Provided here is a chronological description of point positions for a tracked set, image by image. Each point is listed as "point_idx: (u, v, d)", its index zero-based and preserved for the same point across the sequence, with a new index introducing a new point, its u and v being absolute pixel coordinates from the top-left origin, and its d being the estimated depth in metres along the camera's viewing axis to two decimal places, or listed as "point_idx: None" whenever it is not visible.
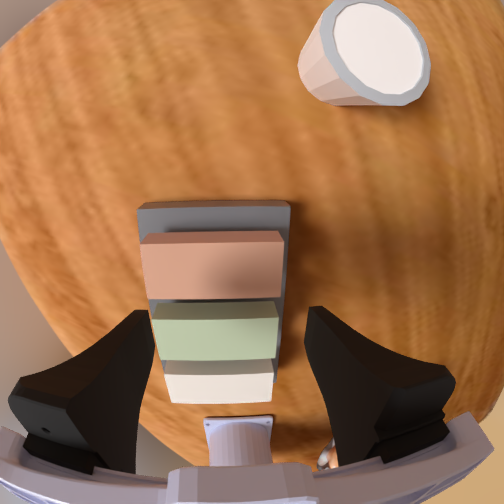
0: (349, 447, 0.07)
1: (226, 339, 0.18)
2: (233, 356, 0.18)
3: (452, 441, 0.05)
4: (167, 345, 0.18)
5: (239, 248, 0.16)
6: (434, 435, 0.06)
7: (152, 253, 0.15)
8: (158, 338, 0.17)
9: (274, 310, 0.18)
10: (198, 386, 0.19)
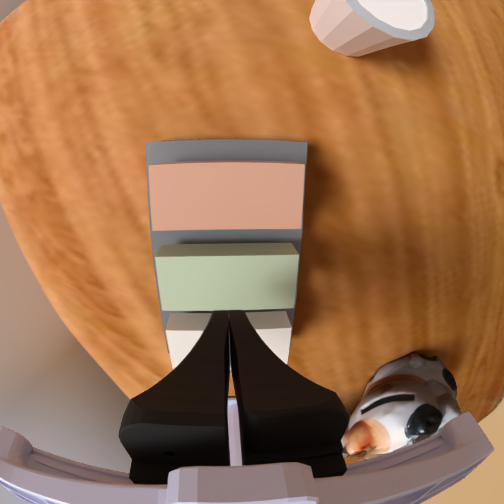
0: None
1: (239, 281, 0.16)
2: (246, 305, 0.17)
3: (452, 441, 0.05)
4: (171, 290, 0.16)
5: (257, 169, 0.14)
6: (323, 470, 0.05)
7: (161, 175, 0.14)
8: (161, 282, 0.16)
9: (293, 249, 0.17)
10: None
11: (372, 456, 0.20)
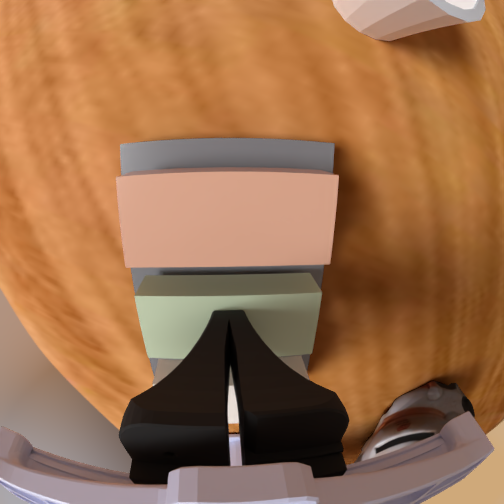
0: None
1: None
2: None
3: (452, 441, 0.05)
4: (158, 336, 0.12)
5: (272, 182, 0.10)
6: (323, 470, 0.05)
7: (134, 190, 0.09)
8: (145, 326, 0.12)
9: (313, 283, 0.13)
10: None
11: None
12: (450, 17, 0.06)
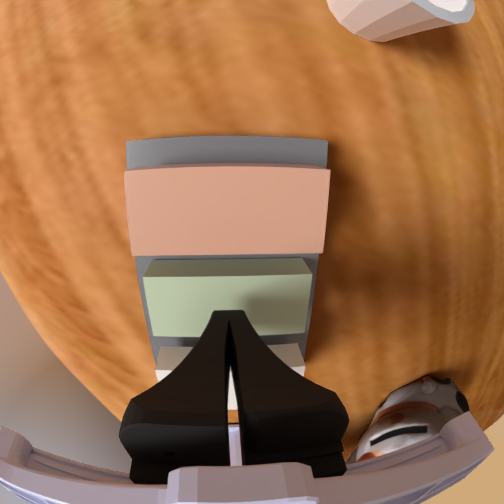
0: None
1: (242, 305, 0.14)
2: None
3: (452, 441, 0.05)
4: (163, 315, 0.14)
5: (268, 175, 0.11)
6: (323, 470, 0.05)
7: (141, 184, 0.10)
8: (151, 305, 0.13)
9: (305, 266, 0.14)
10: None
11: None
12: (438, 19, 0.07)
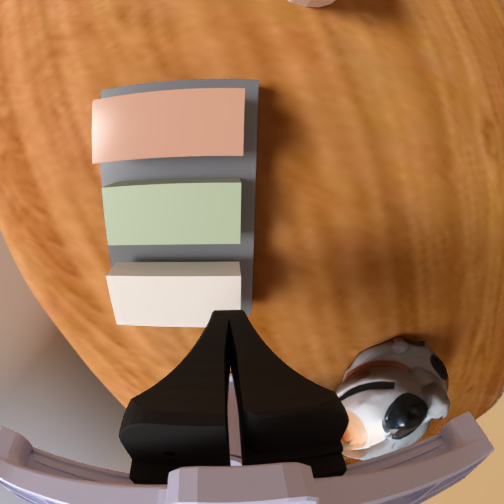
0: None
1: (180, 211, 0.15)
2: (189, 239, 0.16)
3: (452, 441, 0.05)
4: (116, 223, 0.15)
5: (194, 95, 0.12)
6: (323, 470, 0.05)
7: (103, 107, 0.12)
8: (107, 214, 0.15)
9: (237, 180, 0.16)
10: (145, 295, 0.16)
11: (347, 452, 0.18)
12: None
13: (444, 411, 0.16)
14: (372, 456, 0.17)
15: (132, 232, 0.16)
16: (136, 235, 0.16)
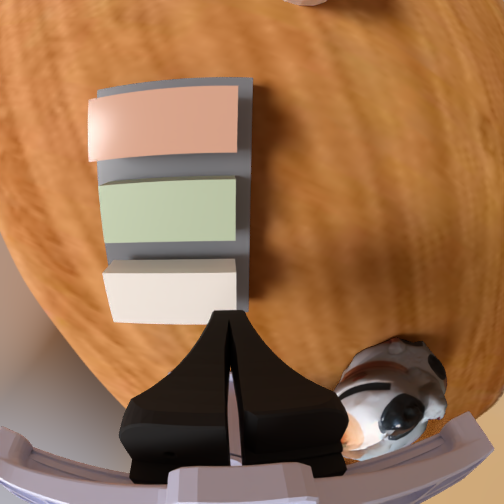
0: None
1: (175, 209, 0.15)
2: (184, 236, 0.16)
3: (452, 441, 0.05)
4: (112, 220, 0.15)
5: (188, 93, 0.12)
6: (323, 470, 0.05)
7: (99, 107, 0.12)
8: (103, 212, 0.15)
9: (232, 177, 0.16)
10: (142, 292, 0.16)
11: (344, 453, 0.18)
12: None
13: (441, 411, 0.16)
14: (369, 457, 0.17)
15: (128, 230, 0.16)
16: (132, 233, 0.16)
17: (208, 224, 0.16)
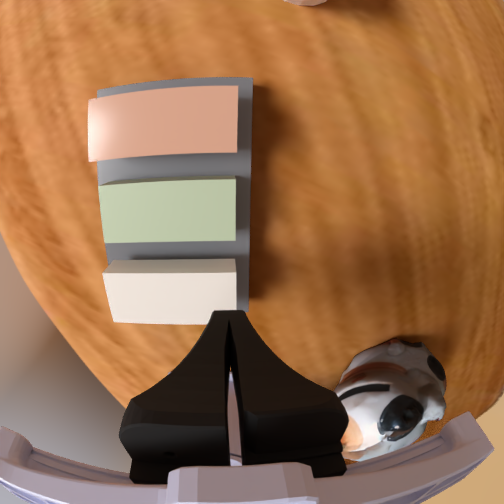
0: None
1: (175, 209, 0.15)
2: (184, 236, 0.16)
3: (452, 441, 0.05)
4: (112, 220, 0.15)
5: (188, 93, 0.12)
6: (323, 470, 0.05)
7: (99, 107, 0.12)
8: (103, 212, 0.15)
9: (232, 177, 0.16)
10: (142, 292, 0.16)
11: (344, 454, 0.18)
12: None
13: (440, 412, 0.16)
14: (368, 458, 0.17)
15: (128, 230, 0.16)
16: (132, 233, 0.16)
17: (208, 224, 0.16)
